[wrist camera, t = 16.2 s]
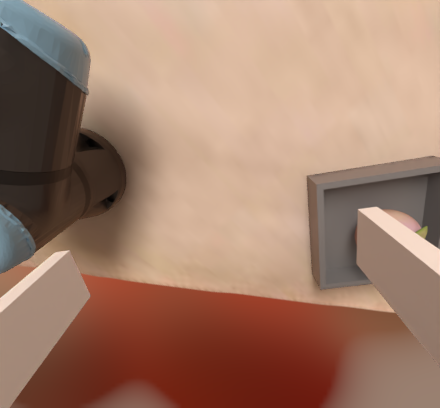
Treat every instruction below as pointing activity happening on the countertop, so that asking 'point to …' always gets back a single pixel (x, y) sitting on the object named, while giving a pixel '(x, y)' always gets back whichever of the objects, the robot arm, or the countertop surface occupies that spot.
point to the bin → (365, 198)
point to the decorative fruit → (404, 223)
